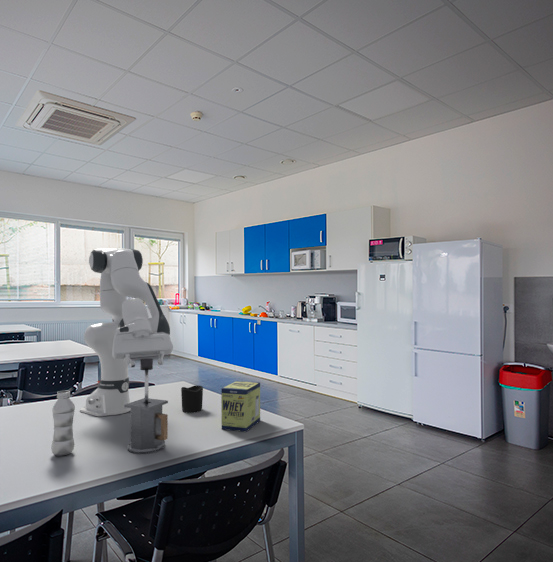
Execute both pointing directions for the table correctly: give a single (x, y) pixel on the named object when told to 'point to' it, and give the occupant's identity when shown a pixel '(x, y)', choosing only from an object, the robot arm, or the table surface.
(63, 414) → the plastic bottle
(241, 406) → the protein box
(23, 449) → the table surface
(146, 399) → the plunger
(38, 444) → the table surface
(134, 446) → the press carafe
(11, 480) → the table surface
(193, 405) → the pen holder
